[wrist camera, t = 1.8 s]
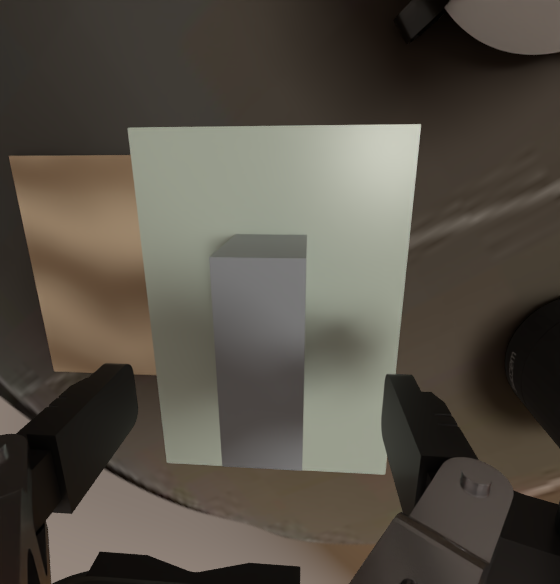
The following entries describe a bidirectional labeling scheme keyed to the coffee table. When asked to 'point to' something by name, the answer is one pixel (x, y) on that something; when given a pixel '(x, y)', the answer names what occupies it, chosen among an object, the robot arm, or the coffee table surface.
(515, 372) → the pen holder
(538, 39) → the coffee press
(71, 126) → the coffee table surface
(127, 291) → the cork pad
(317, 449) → the lid
